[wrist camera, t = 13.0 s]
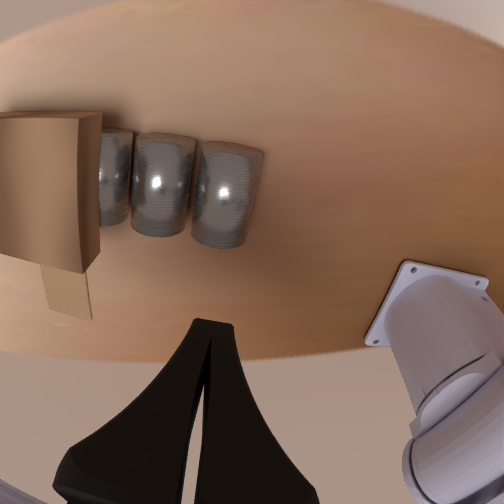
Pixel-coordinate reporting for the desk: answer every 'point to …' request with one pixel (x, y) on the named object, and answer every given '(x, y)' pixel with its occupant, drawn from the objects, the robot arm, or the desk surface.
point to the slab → (50, 187)
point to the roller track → (165, 198)
